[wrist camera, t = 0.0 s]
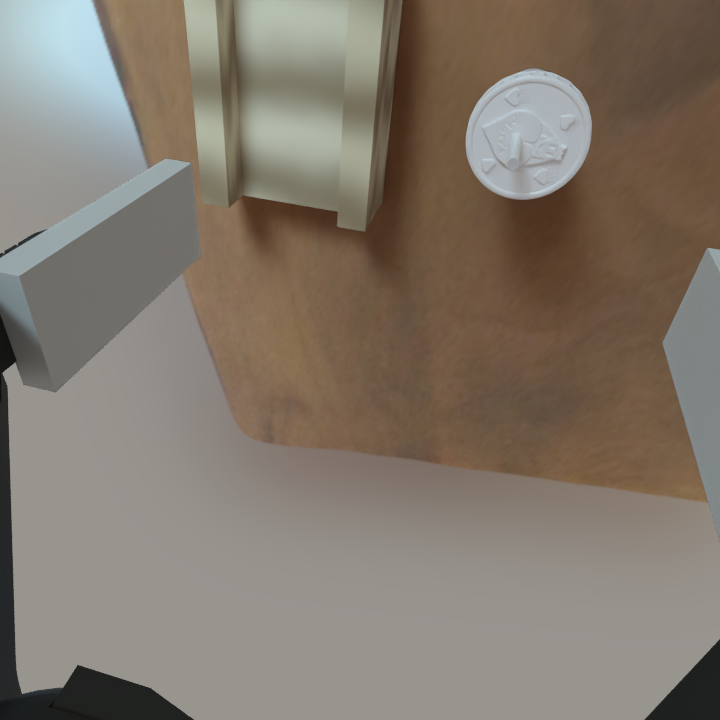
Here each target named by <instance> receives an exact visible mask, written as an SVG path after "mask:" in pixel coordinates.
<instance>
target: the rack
mask: <svg viewBox="0 0 720 720" xmlns="http://www.w3.org/2000/svg"><path fill="white" fill-rule="evenodd" d="M402 2H403V0H184V6H185V17H186V27H187V38H188V49H189V60H190V71H191V81H192V92H193V103H194V114H195V125H196V135H197V146H198V157H199V168H200V178H201V189H202V200H203V203H205V204H211V205H217V206H222V207H228V208H229V207H230V206H231V205H232V204H234V203H235V202H236V201H237V200H238V199H239V198H241V197H242V196H243V195H244V196H250V197H255V198H261V199H267V200H273V201H279V202H284V203H290V204H296V205H302V206H307V207H313V208H319V209H325V210H331V211H336V212H338V217H337V227H341V228H346V229H352V230H358V231H363V232H365V231H366V229H367V228H368V226H369V224H370V223H371V221H372V219H373V218H374V216H375V214H376V213H377V211H378V209H379V208H380V206H381V204H382V202H383V192H384V182H385V172H386V162H387V152H388V142H389V132H390V122H391V112H392V102H393V92H394V82H395V72H396V62H397V52H398V42H399V32H400V22H401V12H402Z"/></svg>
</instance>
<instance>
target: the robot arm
mask: <svg viewBox="0 0 720 720" xmlns="http://www.w3.org/2000/svg"><path fill="white" fill-rule="evenodd" d="M200 256H201V250H200V240H199V231H198V221H197V211H196V201H195V191H194V182H193V172H192V163H188V162H182V161H176V160H170V159H164V160H163V161H161V162H159V163H158V164H156V165H154V166H153V167H151V168H149V169H148V170H146V171H144V172H143V173H141V174H139V175H138V176H136V177H134V178H133V179H131V180H129V181H128V182H126V183H124V184H123V185H121V186H120V187H118V188H116V189H114V190H113V191H111V192H109V193H108V194H106V195H104V196H103V197H101V198H99V199H98V200H96V201H94V202H93V203H91V204H89V205H88V206H86V207H84V208H82V209H81V210H79V211H77V212H76V213H74V214H72V215H71V216H69V217H68V218H66V219H64V220H62V221H61V222H59V223H57V224H56V225H54V226H52V227H51V228H49V229H46V230H43V231H41V232H37V233H35V234H33V235H31V236H29V237H28V238H26V239H24V240H23V241H21V242H19V243H18V246H17V245H14V246H12V247H11V248H9V249H7V250H6V251H5V253H4V254H3V253H1V254H0V720H193V719H192V718H191V717H189V716H187V715H186V714H185V713H184V712H182V711H181V710H180V709H178V708H177V707H176V706H174V705H173V704H171V703H170V702H168V701H167V700H166V699H164V698H163V697H162V696H160V695H159V694H158V693H156V692H155V691H154V690H152V689H151V688H148V687H145V686H142V685H139V684H135V683H132V682H129V681H126V680H123V679H120V678H117V677H114V676H110V675H107V674H104V673H101V672H98V671H95V670H92V669H88V668H85V667H82V666H79V665H77V667H76V669H75V670H74V672H73V673H72V675H71V677H70V678H69V680H68V681H67V683H66V684H65V686H64V687H63V688H53V689H45V690H37V691H33V692H29V693H25V694H22V693H21V689H20V686H19V682H18V677H17V671H16V656H15V624H14V589H13V556H12V526H11V525H12V523H11V492H10V491H11V490H10V457H9V424H8V391H7V385H6V382H5V379H4V376H3V374H2V373H3V372H4V371H5V370H6V369H7V368H9V367H10V366H11V365H12V364H14V363H15V362H16V365H17V368H18V370H19V373H20V376H21V379H22V382H23V384H24V385H27V386H31V387H35V388H39V389H44V390H48V391H52V392H57V391H58V390H59V389H60V388H61V387H62V386H63V385H64V384H65V383H66V382H67V381H68V380H69V379H70V378H71V377H72V376H73V375H74V374H76V373H77V372H78V371H79V370H80V369H81V368H82V367H83V366H84V365H85V364H86V363H87V362H88V361H89V360H91V359H92V358H93V357H94V356H95V355H96V354H97V353H98V352H99V351H100V350H101V349H102V348H103V347H104V346H105V345H107V344H108V343H109V342H110V341H111V340H112V339H113V338H114V337H115V336H116V335H117V334H118V333H119V332H120V331H121V330H122V329H123V328H124V327H125V326H127V325H128V324H129V323H130V322H131V321H132V320H133V319H134V318H135V317H136V316H137V315H138V314H139V313H140V312H141V311H142V310H144V309H145V308H146V307H147V306H148V305H149V304H150V303H151V302H152V301H153V300H154V299H155V298H156V297H157V296H159V295H160V294H161V292H163V291H164V290H165V289H166V288H167V287H168V286H169V285H170V284H171V283H172V282H173V281H174V280H175V279H177V278H178V277H179V276H180V275H181V274H182V273H183V272H184V271H185V270H186V269H187V268H188V267H189V266H190V265H191V264H192V263H194V262H195V261H196V260H197V259H198V258H199V257H200ZM663 347H664V350H665V354H666V357H667V361H668V364H669V368H670V371H671V375H672V378H673V382H674V385H675V389H676V392H677V395H678V399H679V402H680V406H681V409H682V413H683V416H684V420H685V423H686V427H687V430H688V434H689V437H690V440H691V444H692V447H693V451H694V454H695V458H696V461H697V465H698V468H699V472H700V475H701V479H702V482H703V486H704V489H705V492H706V496H707V499H708V503H709V506H710V510H711V513H712V517H713V520H714V524H715V527H716V531H717V534H718V537H719V541H720V250H718V249H712V248H707V249H706V251H705V253H704V256H703V258H702V260H701V262H700V264H699V266H698V268H697V270H696V273H695V275H694V277H693V279H692V281H691V283H690V285H689V288H688V290H687V292H686V294H685V296H684V298H683V300H682V302H681V305H680V307H679V309H678V311H677V313H676V315H675V317H674V319H673V322H672V324H671V326H670V328H669V330H668V332H667V334H666V337H665V339H664V341H663ZM645 720H720V640H719V641H718V642H717V643H716V644H715V645H714V646H713V647H712V648H711V649H710V651H709V652H708V653H707V654H706V655H705V656H704V657H703V658H702V659H701V660H700V661H699V662H698V663H697V664H696V665H695V666H694V668H693V669H692V670H691V671H690V672H689V673H688V674H687V675H686V676H685V677H684V678H683V679H682V681H680V682H679V684H678V685H677V686H676V687H675V688H674V689H673V690H672V691H671V692H670V693H669V694H668V695H667V696H666V697H665V698H664V700H663V701H662V702H661V703H660V704H659V705H658V706H657V707H656V708H655V709H654V710H653V711H652V712H651V714H650V715H649V716H648V717H647V718H646V719H645Z"/></svg>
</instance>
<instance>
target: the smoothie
mask: <svg viewBox="0 0 720 720" xmlns="http://www.w3.org/2000/svg"><path fill="white" fill-rule="evenodd" d="M591 131H592V120H591V116H590V111H589V106H588V104H587V103H586V101H585V99H584V97H583V95H582V94H581V92H580V91H579V90H578V89H577V88H576V87H575V86H574V85H573V84H572V83H571V82H570V81H569V80H567V79H565V78H563V77H561V76H559V75H557V74H555V73H551V72H546V71H544V70H541V69H534V68H533V69H526V70H523V71H521V72H518V73H516V74H513V75H511V76H508V77H506V78H503V79H502V80H500V81H499V82H498V83H496V84H495V85H493V86H492V87H491V88H489V89H488V90H487V91H486V93H485V94H484V95H483V96H482V97H481V99H480V100H479V101H478V102H477V104H476V106H475V108H474V110H473V112H472V114H471V116H470V119H469V123H468V128H467V133H466V153H467V158H468V161H469V164H470V166H471V169H472V170H473V172H474V174H475V175H476V177H477V178H478V179H479V181H480V182H481V183H482V184H483V185H484V186H485V187H487V188H488V189H489V190H491V191H493V192H494V193H496V194H498V195H501V196H503V197H507V198H511V199H519V200H527V199H534V198H539V197H543V196H545V195H548V194H550V193H552V192H554V191H556V190H558V189H559V188H561V187H562V186H564V185H565V184H566V183H567V182H568V181H570V180H571V179H572V177H573V176H574V175H575V174H576V173H577V172H578V170H579V169H580V167H581V166H582V164H583V162H584V160H585V158H586V156H587V153H588V150H589V147H590V142H591Z"/></svg>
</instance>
